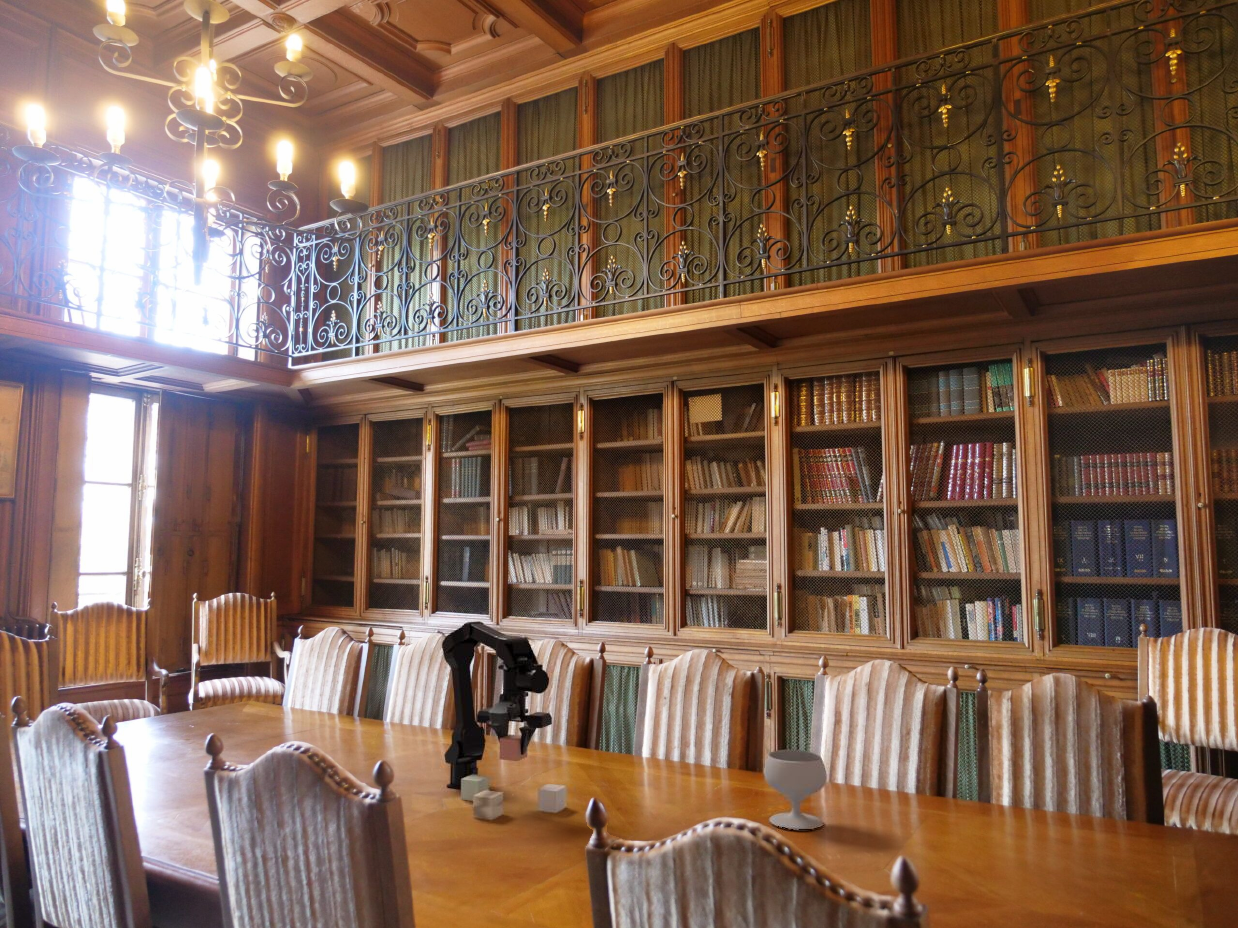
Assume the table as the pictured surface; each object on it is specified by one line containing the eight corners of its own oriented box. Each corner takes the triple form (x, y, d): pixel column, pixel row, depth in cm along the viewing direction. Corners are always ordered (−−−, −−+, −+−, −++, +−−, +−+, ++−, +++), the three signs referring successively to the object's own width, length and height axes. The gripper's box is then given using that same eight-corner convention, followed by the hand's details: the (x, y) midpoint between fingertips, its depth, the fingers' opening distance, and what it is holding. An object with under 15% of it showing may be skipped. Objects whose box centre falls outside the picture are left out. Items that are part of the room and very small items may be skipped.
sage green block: (460, 799, 209) (461, 778, 209) (472, 794, 213) (472, 774, 214) (477, 801, 207) (478, 781, 207) (488, 796, 211) (489, 776, 212)
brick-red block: (499, 759, 206) (499, 738, 206) (510, 754, 210) (510, 734, 211) (516, 761, 203) (517, 739, 204) (527, 756, 208) (527, 735, 209)
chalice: (830, 817, 195) (828, 750, 196) (824, 836, 182) (823, 764, 183) (770, 811, 199) (769, 746, 201) (760, 829, 186) (759, 759, 188)
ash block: (473, 817, 194) (473, 795, 195) (484, 811, 199) (485, 789, 199) (491, 820, 192) (491, 797, 193) (502, 814, 197) (503, 792, 197)
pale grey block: (537, 810, 200) (538, 788, 200) (547, 804, 204) (548, 783, 205) (556, 813, 198) (556, 791, 198) (566, 807, 202) (566, 785, 203)
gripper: (464, 691, 205) (463, 756, 203) (530, 696, 198) (529, 764, 196) (489, 684, 215) (488, 747, 213) (553, 689, 208) (552, 754, 206)
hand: (513, 753), depth 207 cm, fingers closed on brick-red block, 5 cm apart
